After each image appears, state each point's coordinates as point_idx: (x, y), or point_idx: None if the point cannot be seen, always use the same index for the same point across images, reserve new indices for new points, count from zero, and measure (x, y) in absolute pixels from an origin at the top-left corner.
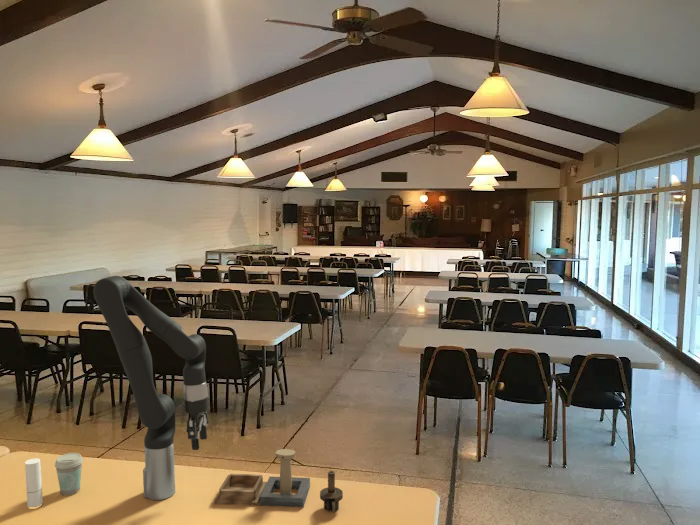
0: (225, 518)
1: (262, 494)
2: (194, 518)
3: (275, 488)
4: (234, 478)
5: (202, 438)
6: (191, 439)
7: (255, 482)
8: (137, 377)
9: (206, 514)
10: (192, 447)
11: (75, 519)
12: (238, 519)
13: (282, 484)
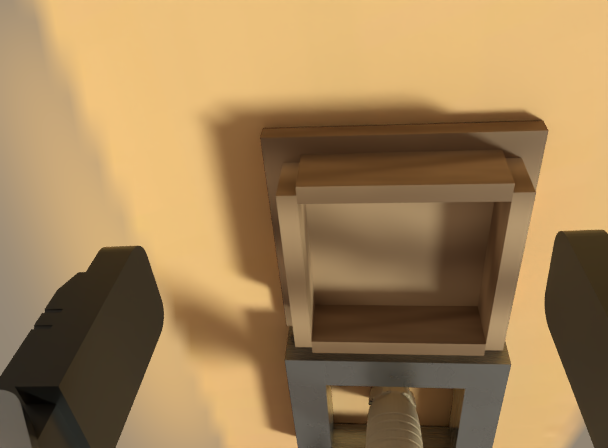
0: (139, 221)
1: (308, 364)
2: (76, 71)
3: None
4: (502, 207)
5: (554, 268)
6: (20, 380)
7: (482, 295)
8: None
9: (140, 122)
10: (56, 292)
11: None
12: None
13: (368, 441)
